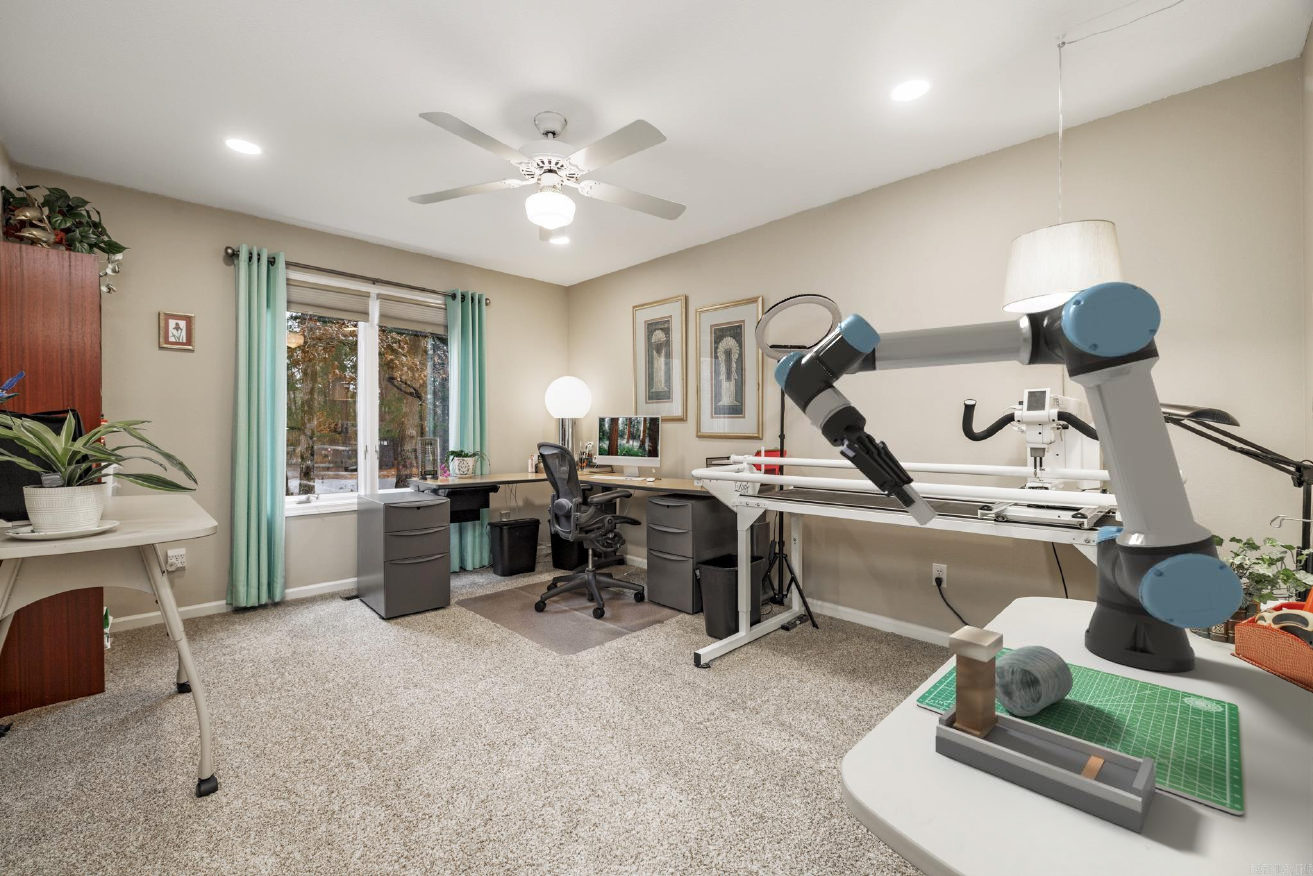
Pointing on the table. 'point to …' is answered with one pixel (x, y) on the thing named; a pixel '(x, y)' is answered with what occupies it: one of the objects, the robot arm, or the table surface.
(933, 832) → the table surface
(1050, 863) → the table surface
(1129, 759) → the gray rectangular tray
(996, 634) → the block
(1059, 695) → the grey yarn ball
